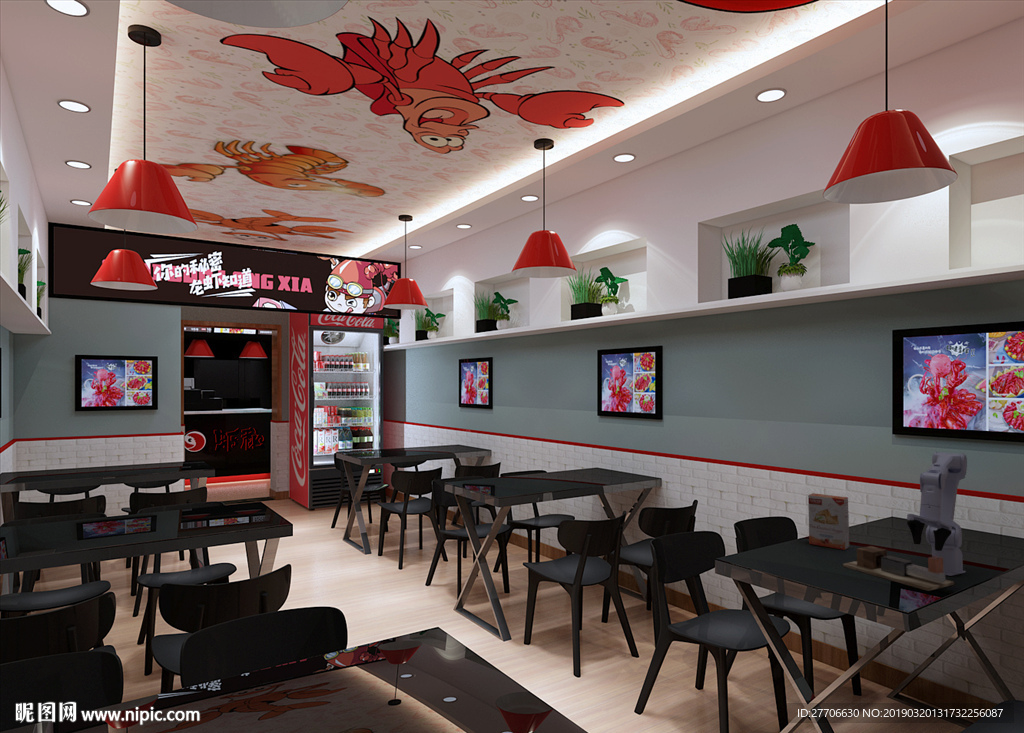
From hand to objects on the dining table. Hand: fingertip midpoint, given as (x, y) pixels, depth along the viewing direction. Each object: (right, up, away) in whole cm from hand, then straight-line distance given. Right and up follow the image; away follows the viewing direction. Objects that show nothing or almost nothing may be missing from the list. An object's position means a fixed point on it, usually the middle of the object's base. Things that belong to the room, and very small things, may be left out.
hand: (927, 547), depth 200 cm
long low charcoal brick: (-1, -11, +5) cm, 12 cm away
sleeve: (-4, -13, +10) cm, 17 cm away
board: (-4, -13, +10) cm, 17 cm away
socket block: (-7, -13, +18) cm, 24 cm away
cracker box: (-7, -15, +50) cm, 52 cm away
